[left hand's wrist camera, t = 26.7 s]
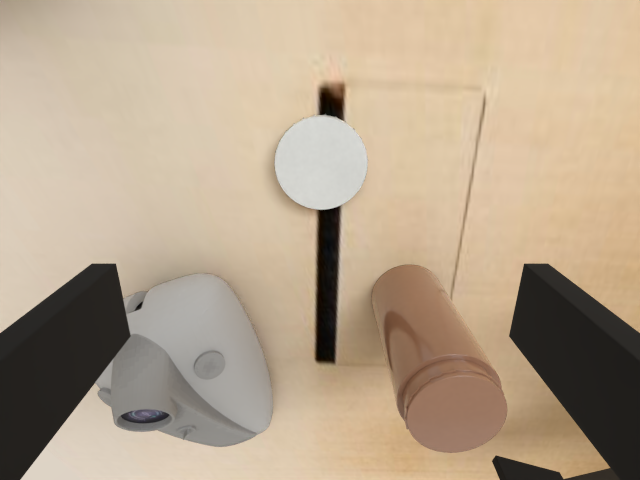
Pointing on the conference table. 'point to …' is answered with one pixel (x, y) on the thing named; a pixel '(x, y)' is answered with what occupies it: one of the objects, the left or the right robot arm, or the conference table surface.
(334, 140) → the lid
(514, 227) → the conference table surface
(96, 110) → the conference table surface
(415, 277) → the jar
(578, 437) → the conference table surface
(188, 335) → the projector
